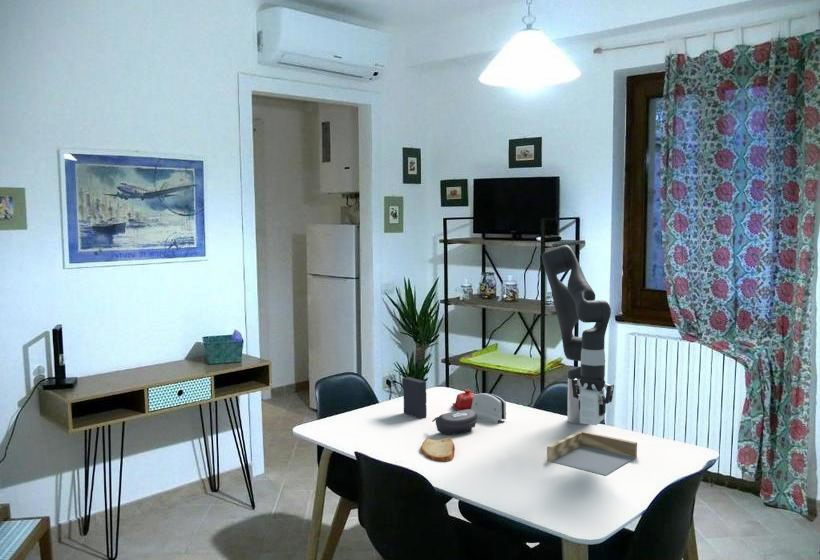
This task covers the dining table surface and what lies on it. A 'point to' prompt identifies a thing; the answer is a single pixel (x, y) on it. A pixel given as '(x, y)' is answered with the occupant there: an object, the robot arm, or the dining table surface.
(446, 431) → the glasses case
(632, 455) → the corner walls
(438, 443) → the slice of bread
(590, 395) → the small box
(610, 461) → the mat
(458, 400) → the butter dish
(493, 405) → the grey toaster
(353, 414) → the dining table surface
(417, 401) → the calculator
